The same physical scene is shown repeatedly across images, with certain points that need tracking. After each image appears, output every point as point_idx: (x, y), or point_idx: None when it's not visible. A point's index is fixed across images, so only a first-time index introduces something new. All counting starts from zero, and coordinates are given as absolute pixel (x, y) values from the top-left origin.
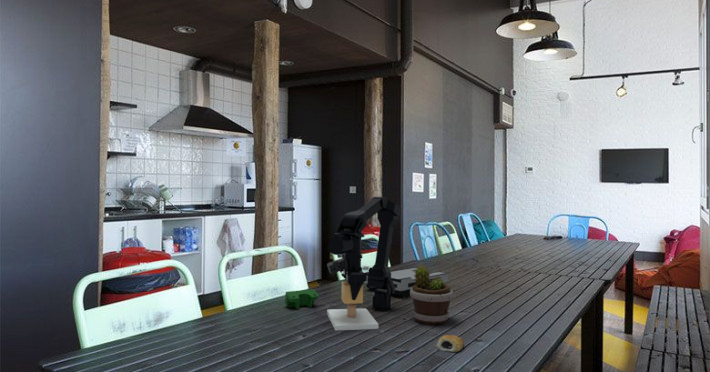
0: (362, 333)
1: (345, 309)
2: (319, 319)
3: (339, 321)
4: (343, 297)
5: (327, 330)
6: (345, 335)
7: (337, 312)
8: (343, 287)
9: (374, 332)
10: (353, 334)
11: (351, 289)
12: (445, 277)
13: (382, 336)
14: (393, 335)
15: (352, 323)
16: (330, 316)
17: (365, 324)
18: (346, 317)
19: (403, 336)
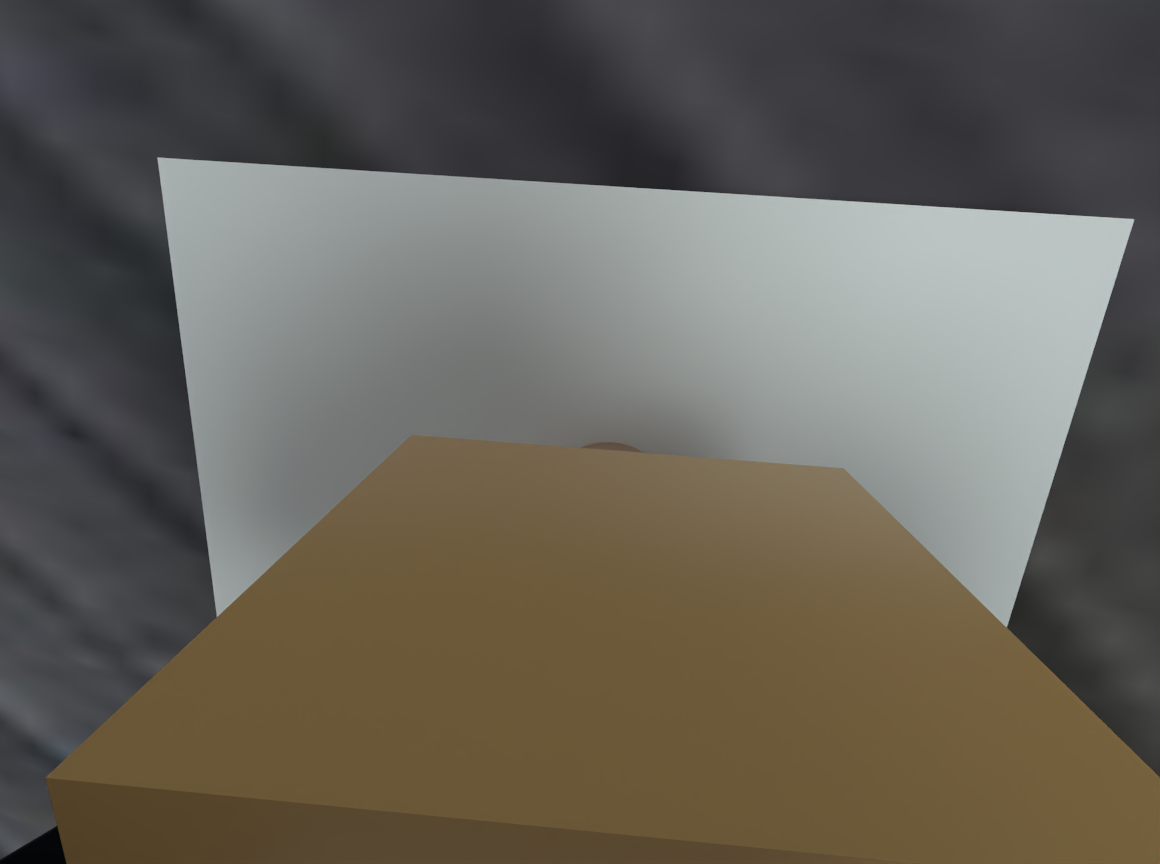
0: (98, 472)
1: (1017, 513)
2: (802, 27)
3: (377, 272)
4: (528, 487)
5: (215, 52)
6: (9, 258)
7: (884, 354)
8: (513, 672)
9: (138, 598)
10: (55, 364)
11: (30, 857)
12: None
13: (9, 631)
14: (49, 729)
15: (269, 430)
16: (696, 192)
17: (219, 570)
18: (571, 422)
19: (25, 793)
